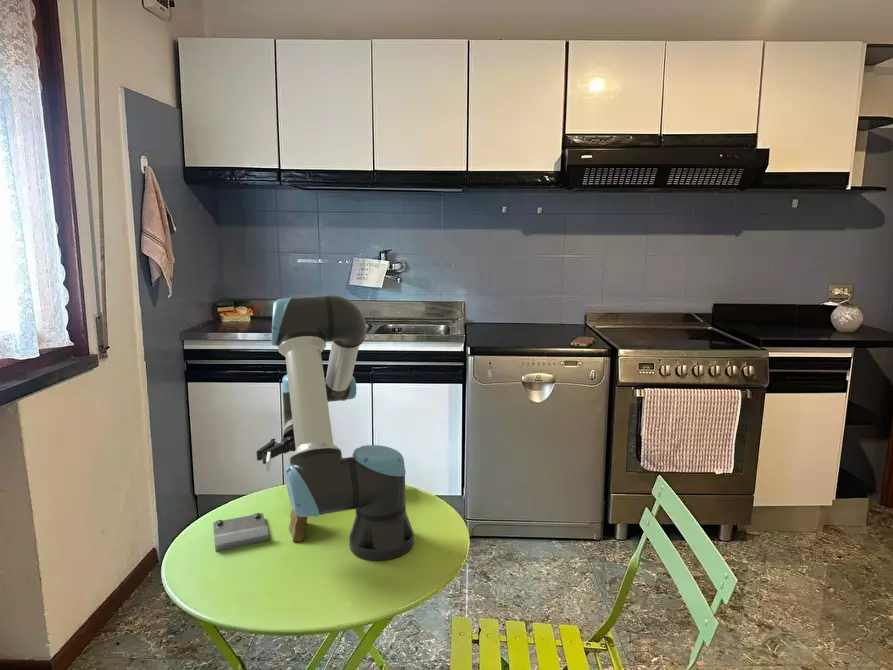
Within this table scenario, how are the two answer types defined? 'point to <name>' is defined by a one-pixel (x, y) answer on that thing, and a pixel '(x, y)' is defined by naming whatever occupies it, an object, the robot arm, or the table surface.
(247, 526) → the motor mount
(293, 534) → the rock
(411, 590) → the table surface
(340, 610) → the table surface
